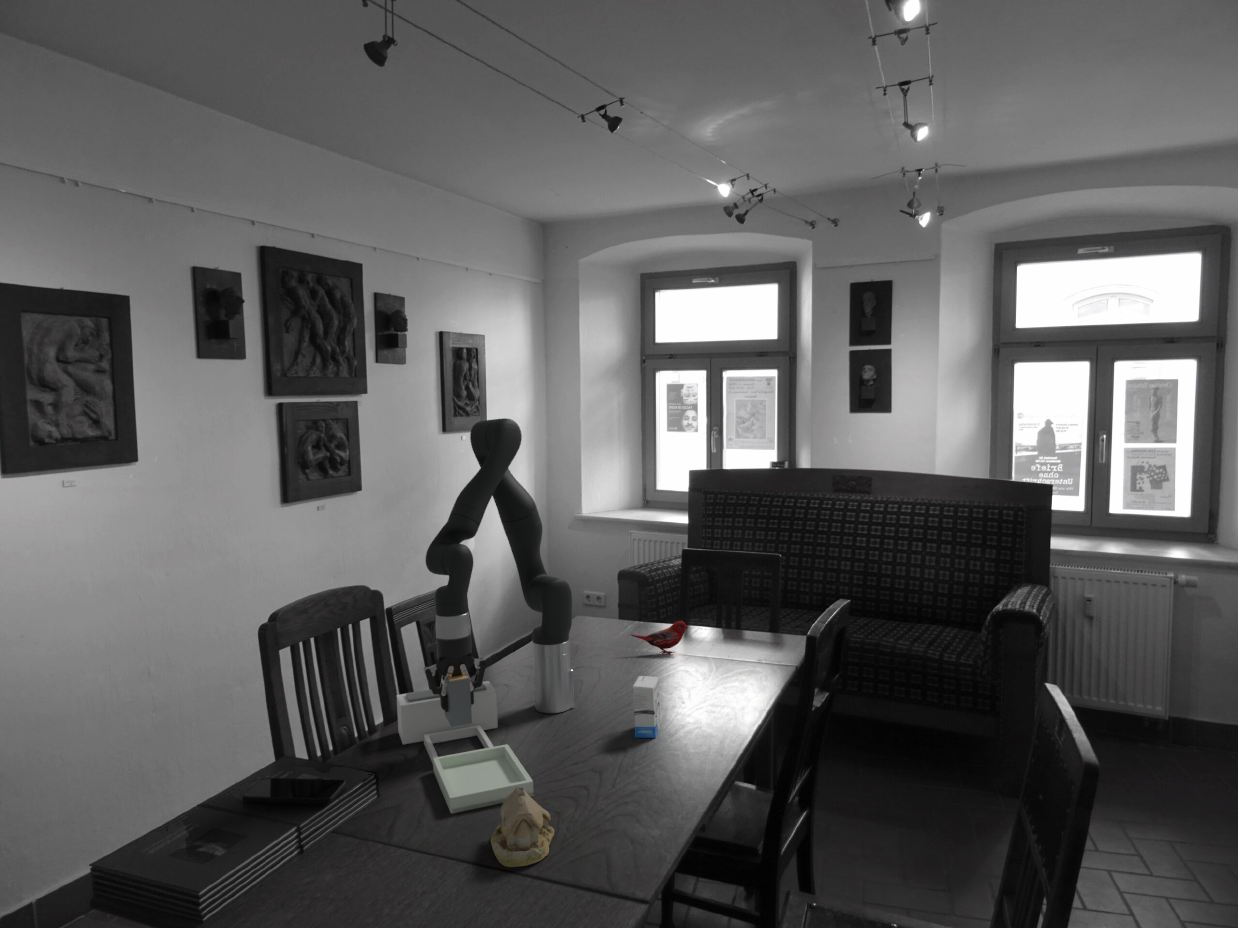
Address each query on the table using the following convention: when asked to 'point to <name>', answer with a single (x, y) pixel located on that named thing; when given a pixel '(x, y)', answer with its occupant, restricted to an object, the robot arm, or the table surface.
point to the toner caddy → (459, 701)
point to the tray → (480, 777)
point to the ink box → (646, 707)
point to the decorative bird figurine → (666, 637)
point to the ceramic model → (522, 831)
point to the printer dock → (444, 718)
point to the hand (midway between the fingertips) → (457, 708)
